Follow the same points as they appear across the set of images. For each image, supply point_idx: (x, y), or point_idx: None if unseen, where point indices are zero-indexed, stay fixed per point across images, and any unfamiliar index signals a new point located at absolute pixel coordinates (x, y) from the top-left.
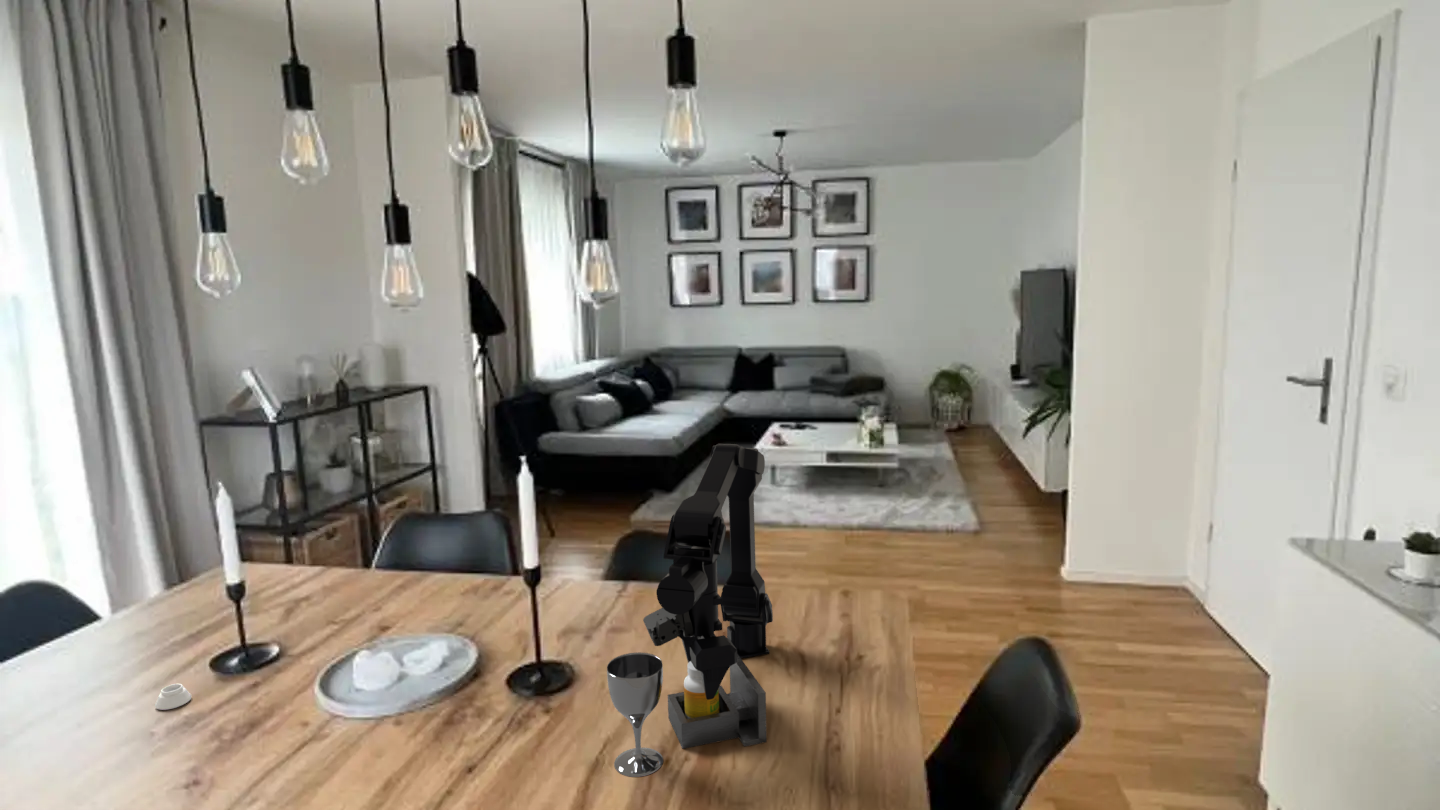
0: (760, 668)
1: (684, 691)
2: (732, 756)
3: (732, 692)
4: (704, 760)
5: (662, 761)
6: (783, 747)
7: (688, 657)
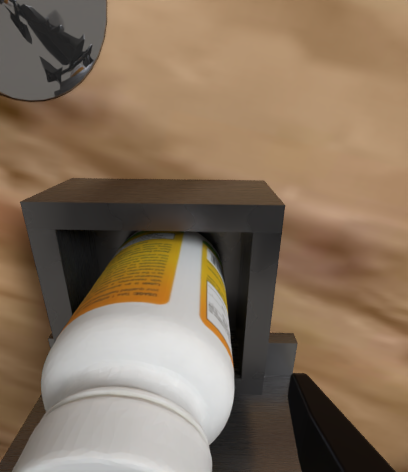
0: (388, 453)
1: (143, 287)
2: (16, 293)
3: (274, 387)
4: (4, 223)
5: (4, 93)
6: (39, 394)
7: (331, 460)
